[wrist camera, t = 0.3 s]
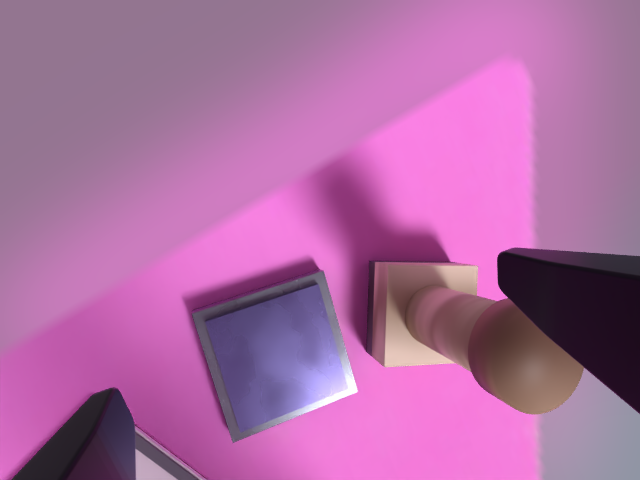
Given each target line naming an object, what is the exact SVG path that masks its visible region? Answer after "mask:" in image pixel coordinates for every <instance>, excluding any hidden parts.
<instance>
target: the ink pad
mask: <svg viewBox="0 0 640 480" xmlns="http://www.w3.org/2000/svg"><path fill="white" fill-rule="evenodd" d="M192 316H193V320H194V323H195V326H196V329H197V332H198V335H199V338H200V341H201V344H202V348H203V351H204V354H205V357H206V360H207V363H208V366H209V369H210V373H211V376H212V379H213V382H214V385H215V388H216V391H217V394H218V398H219V401H220V404H221V407H222V410H223V413H224V416H225V419H226V423H227V426H228V429H229V432H230V435H231V438H232V441H233V443H234V442H236V441H239V440H241V439H243V438H246V437H248V436H251V435H253V434H256V433H258V432H261V431H263V430H265V429H268V428H270V427H273V426H275V425H278V424H280V423H283V422H285V421H288V420H290V419H292V418H295V417H297V416H300V415H302V414H305V413H307V412H310V411H312V410H314V409H317V408H319V407H322V406H324V405H327V404H329V403H332V402H334V401H336V400H339V399H341V398H344V397H346V396H349V395H351V394H354V393H356V392H358V391H357V387H356V384H355V380H354V376H353V373H352V369H351V366H350V362H349V359H348V355H347V352H346V348H345V345H344V341H343V338H342V334H341V331H340V327H339V324H338V320H337V317H336V313H335V309H334V306H333V302H332V299H331V295H330V292H329V288H328V285H327V281H326V278H325V274H324V271H323V270H320V269H319V270H316V271H312V272H309V273H306V274H303V275H300V276H297V277H294V278H291V279H288V280H285V281H282V282H278V283H275V284H272V285H269V286H266V287H263V288H260V289H257V290H254V291H251V292H248V293H245V294H241V295H238V296H235V297H232V298H229V299H226V300H223V301H220V302H217V303H214V304H211V305H207V306H204V307H201V308H198V309H195V310H193V311H192Z"/></svg>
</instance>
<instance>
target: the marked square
mask: <svg viewBox="0 0 640 480" xmlns="http://www.w3.org/2000/svg"><path fill="white" fill-rule="evenodd" d="M135 451H136V480H207V479H205V478H204V477H203V476H201V475H200V474H199V473H197V472H196V471H195V470H193V469H192V468H191V467H189V466H188V465H187V464H185V463H184V462H183V461H181V460H180V459H179V458H177V457H176V456H175V455H173V454H172V453H171V452H170V451H168V450H167V449H166V448H164V447H163V446H162V445H160V444H159V443H158V442H156V441H155V440H154V439H152V438H151V437H150V436H148V435H147V434H146V433H144V432H143V431H142V430H140V429H139V428H138V427H136V426H135Z"/></svg>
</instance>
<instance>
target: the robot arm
mask: <svg viewBox="0 0 640 480" xmlns="http://www.w3.org/2000/svg"><path fill="white" fill-rule="evenodd" d="M497 268H498V285H499V287H500V289H501V291H502V292H503V293H504V294H505V295H506V296H507V297H508V298H509V299H510V300H511V301H512V302H513V303H514V304H515V305H516V306H517V307H518V308H519V309H520V310H521V311H522V312H523V313H524V314H525V315H526V316H527V317H528V318H529V319H530V320H531V321H532V322H533V323H534V324H535V325H536V326H537V327H538V328H539V329H540V330H541V331H542V332H543V333H544V334H545V335H546V336H547V337H548V338H550V339H551V340H552V341H553V342H554V343H555V344H557V345H558V346H559V347H560V348H561V349H563V350H564V351H565V352H566V353H567V354H569V355H570V356H571V357H572V358H573V359H575V360H576V361H577V362H578V363H579V364H581V365H582V366H583V367H584V368H585V369H587V370H588V371H589V372H590V373H591V374H593V375H594V376H595V377H596V378H597V379H599V380H600V381H601V382H602V383H603V384H605V385H606V386H607V387H608V388H609V389H611V390H612V391H613V392H614V393H615V394H616V395H618V396H619V397H620V398H621V399H623V400H624V401H625V402H626V403H627V404H629V405H630V406H631V407H632V408H633V409H634V410H636V411H637V412H638V413H639V414H640V256H628V255H615V254H600V253H586V252H571V251H557V250H543V249H529V248H511V249H508V250H505V251H503V252H501V253H500V254H499V255H498V258H497ZM12 480H136V451H135V425H134V421H133V418H132V415H131V413H130V411H129V409H128V407H127V405H126V403H125V401H124V399H123V397H122V395H121V393H120V391H119V390H118V389H117V388H114V387H113V388H109V389H106V390H104V391H101V392H98V393H95V394H93V395H92V396H91V397H90V398H89V399H88V400H87V401H86V402H85V403H84V404H83V405H82V406H81V407H80V408H79V410H78V411H77V412H76V413H75V414H74V415H73V416H72V417H71V418H70V419H69V420H68V421H67V422H66V423H65V424H64V425H63V426H62V427H61V428H60V429H59V430H58V431H57V433H56V434H55V435H54V436H53V437H52V438H51V439H50V440H49V441H48V442H47V443H46V444H45V445H44V446H43V447H42V448H41V449H40V450H39V451H38V452H37V453H36V454H35V456H34V457H33V458H32V459H31V460H30V461H29V462H28V463H27V464H26V465H25V466H24V467H23V468H22V469H21V470H20V471H19V472H18V473H17V474H16V475H15V476H14V477H13V479H12Z"/></svg>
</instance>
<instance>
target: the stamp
mask: <svg viewBox="0 0 640 480" xmlns="http://www.w3.org/2000/svg"><path fill="white" fill-rule="evenodd" d="M477 275H478V266H475V265H468V264H461V263H455V262H416V261H369V286H368V316H367V346H366V352H367V353H368V354H370V355H371V356H372V357H373V358H374V359H375V360H377V361H378V362H379V363H380V364H381V365H382V366H384V367H397V366H414V365H432V364H449V363H456V364H458V365H460V366H462V367H463V368H465V369H467V370H469V371H470V372H472V374H473V376H474V378H475V380H476V381H477V382H478V384H479V385H480V386H481V387H482V388H483V389H484V390H486V391H487V392H488V393H490V394H492V395H493V396H495V397H497V398H498V399H500V400H501V401H503V402H505V403H506V404H508V405H510V406H511V407H513V408H514V409H516V410H518V411H520V412H523V413H526V414H542V413H546V412H549V411H552V410H554V409H556V408H557V407H559V406H560V405H562V404H563V403H564V402H565V401H566V400H567V399H568V398H569V397H570V396H571V395H572V393H573V392H574V390H575V389H576V387H577V385H578V383H579V381H580V379H581V376H582V373H583V369H584V367H583V366H582V365H581V364H579V363H578V362H577V361H576V360H575V359H573V358H572V357H571V356H570V355H569V354H567V353H566V352H565V351H564V350H563V349H561V348H560V347H559V346H558V345H557V344H555V343H554V342H553V341H552V340H551V339H550V338H548V337H547V336H546V335H545V334H544V333H543V332H542V331H541V330H540V329H539V328H538V327H537V326H536V325H535V324H534V323H533V322H532V321H531V320H530V319H529V318H528V317H527V316H526V315H525V314H524V313H523V312H522V311H521V310H520V309H519V308H518V307H517V306H516V305H515V304H514V303H513V302H512V301H511V300H510V299H509V298H507V299H503V300H500V301H494V300H490V299H487V298H483V297H479V296H477Z"/></svg>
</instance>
